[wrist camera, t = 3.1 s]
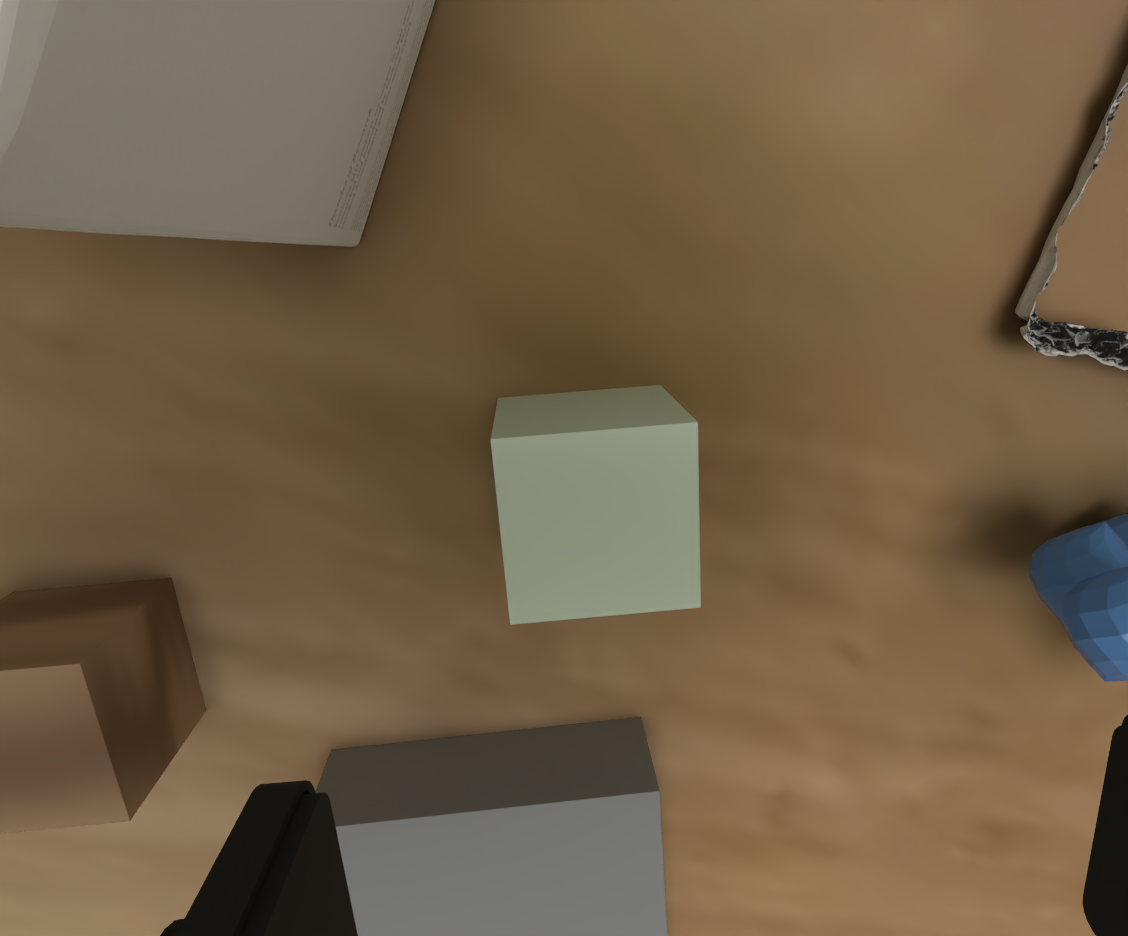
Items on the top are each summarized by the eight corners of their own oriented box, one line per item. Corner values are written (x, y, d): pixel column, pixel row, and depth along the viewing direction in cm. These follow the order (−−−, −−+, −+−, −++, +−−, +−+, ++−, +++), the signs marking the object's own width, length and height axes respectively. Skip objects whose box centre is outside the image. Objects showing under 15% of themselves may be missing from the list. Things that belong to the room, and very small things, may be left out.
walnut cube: (14, 591, 23) (-122, 682, 18) (172, 577, 23) (80, 663, 18) (58, 722, 24) (-56, 839, 19) (207, 708, 24) (130, 820, 20)
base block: (334, 743, 25) (300, 830, 22) (639, 710, 26) (659, 791, 22) (383, 970, 29) (361, 1081, 25) (653, 938, 29) (672, 1043, 25)
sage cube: (497, 397, 22) (490, 439, 17) (660, 384, 22) (697, 421, 17) (513, 547, 23) (510, 624, 18) (664, 534, 23) (700, 607, 19)
